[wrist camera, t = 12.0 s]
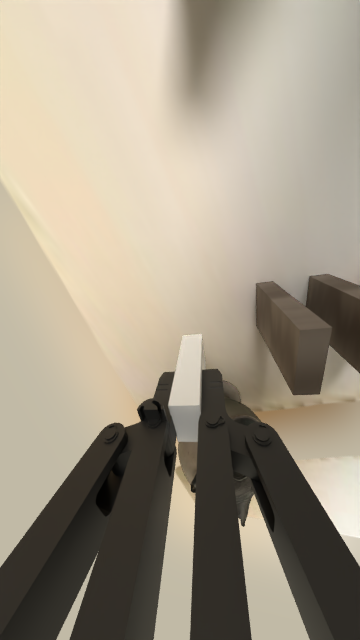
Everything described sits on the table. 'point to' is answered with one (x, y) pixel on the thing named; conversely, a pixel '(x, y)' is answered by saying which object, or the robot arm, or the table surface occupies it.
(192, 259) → the table surface
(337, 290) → the domino
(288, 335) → the domino
